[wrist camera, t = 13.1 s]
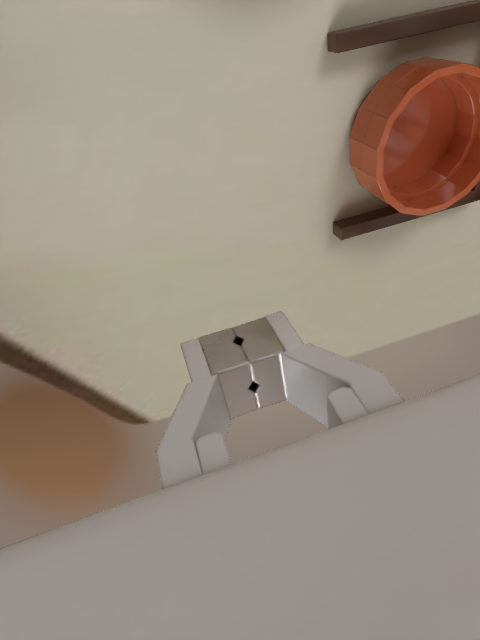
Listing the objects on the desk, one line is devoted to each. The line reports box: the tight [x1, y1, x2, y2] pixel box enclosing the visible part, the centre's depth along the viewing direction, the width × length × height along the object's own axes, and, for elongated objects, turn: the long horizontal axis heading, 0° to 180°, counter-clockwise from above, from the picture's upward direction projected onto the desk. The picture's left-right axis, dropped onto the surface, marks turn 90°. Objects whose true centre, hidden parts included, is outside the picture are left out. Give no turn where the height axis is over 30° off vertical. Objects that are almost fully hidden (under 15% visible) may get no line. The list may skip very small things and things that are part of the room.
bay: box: [327, 0, 480, 240], centre depth 38 cm, size 16×15×2 cm
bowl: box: [350, 57, 480, 216], centre depth 37 cm, size 11×11×5 cm
